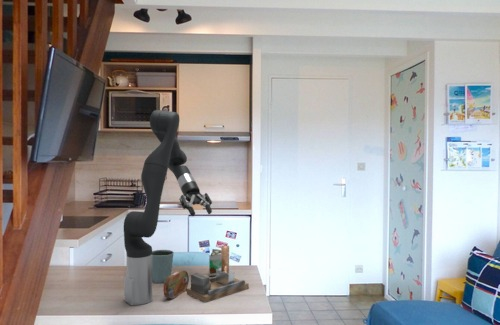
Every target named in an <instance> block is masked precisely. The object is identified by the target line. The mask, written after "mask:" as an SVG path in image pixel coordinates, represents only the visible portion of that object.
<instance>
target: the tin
mask: <svg viewBox="0 0 500 325" xmlns="http://www.w3.org/2000/svg"><path fill="white" fill-rule="evenodd" d="M189 279H190V278H189V273H188V272H187V270H181V269H179V270H176V272H174V273H171V275H170V276H168V277H167V278H166V279H165V282H164V283H163V295H164V297H166V298H168V299H175V298H177V297H178V296H180V295H181V294H182V293H184V292H185V291H187V288H189V287H188V286H189V281H190V280H189Z"/></svg>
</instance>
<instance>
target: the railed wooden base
mask: <svg viewBox="0 0 500 325" xmlns="http://www.w3.org/2000/svg"><path fill="white" fill-rule="evenodd" d="M209 281H210V282H211V288H210V289H209ZM249 286H250V285H249V283H248V282H246V280H244V279H242V280H240V279H237V278H235V277H234V283H232V284H229V285H224V284H221V283H219V282H217V281H216V277H210V276H206V275H204V274H201V273H198V272H196V273H191V274H190V287H187V289H186V294H187V295H188V296H191V297H193V298H195V299H197V300H199V301H202V302H204V303H208V302H210V301H213V300H214V301H215V300H216V299H220V298H222V297H226V296H230V295H232V294H233V295H234V294H235V293H238V292H241V291H244V290H248V289H249Z"/></svg>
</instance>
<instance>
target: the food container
mask: <svg viewBox="0 0 500 325" xmlns="http://www.w3.org/2000/svg"><path fill="white" fill-rule="evenodd" d="M211 251H212V252H211V253H210V255H209V256H208V257H209V260H208V261H209V262H208V264H209V272H208V273H209V278H212V277H216V269H219V268H221V249H216V248H212V249H211Z"/></svg>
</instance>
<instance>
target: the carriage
mask: <svg viewBox="0 0 500 325" xmlns="http://www.w3.org/2000/svg"><path fill="white" fill-rule="evenodd" d="M220 248H221V249H220V250H221V268H219V269H216V281H217V282H219V283H221V284H224V285H229V284H232V283H234V278H235V271H232V270H230V246H229V245H221V247H220Z"/></svg>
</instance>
